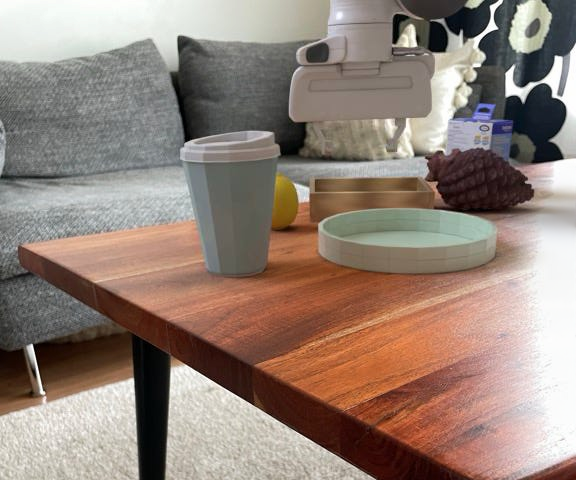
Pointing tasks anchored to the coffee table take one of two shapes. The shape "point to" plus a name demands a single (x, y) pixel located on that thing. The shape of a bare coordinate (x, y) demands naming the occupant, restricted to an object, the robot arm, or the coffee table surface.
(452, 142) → the ink cartridge box
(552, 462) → the coffee table surface
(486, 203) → the pine cone
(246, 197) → the disposable coffee cup
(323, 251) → the round tray
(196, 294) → the coffee table surface
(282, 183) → the lemon
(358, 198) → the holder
